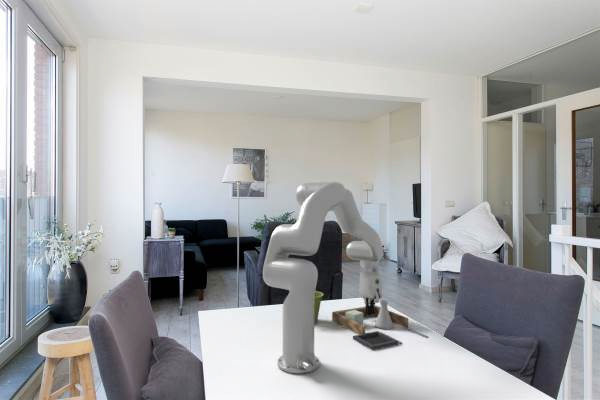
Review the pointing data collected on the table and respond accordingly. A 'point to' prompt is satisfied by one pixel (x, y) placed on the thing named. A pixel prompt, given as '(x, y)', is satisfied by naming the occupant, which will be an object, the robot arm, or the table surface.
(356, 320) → the grey green block
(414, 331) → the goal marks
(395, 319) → the wooden u-shaped frame
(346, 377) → the table surface
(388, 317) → the flask
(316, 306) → the plant pot
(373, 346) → the frame
